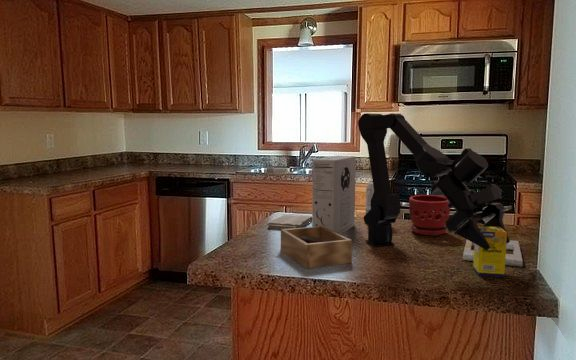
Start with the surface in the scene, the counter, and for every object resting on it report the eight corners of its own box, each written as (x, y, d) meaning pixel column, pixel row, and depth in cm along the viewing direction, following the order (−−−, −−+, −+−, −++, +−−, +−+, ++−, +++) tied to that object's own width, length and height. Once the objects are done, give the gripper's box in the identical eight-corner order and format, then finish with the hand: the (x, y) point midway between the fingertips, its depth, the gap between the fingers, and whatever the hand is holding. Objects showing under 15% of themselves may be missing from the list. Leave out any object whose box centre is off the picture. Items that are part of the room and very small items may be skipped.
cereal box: (334, 223, 163) (335, 155, 160) (354, 225, 160) (355, 156, 157) (311, 236, 144) (312, 159, 141) (333, 239, 141) (334, 160, 138)
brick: (296, 254, 124) (296, 237, 124) (303, 250, 128) (303, 234, 127) (329, 260, 118) (330, 243, 118) (336, 257, 122) (336, 240, 121)
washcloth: (265, 230, 155) (265, 221, 154) (283, 220, 171) (283, 212, 171) (298, 233, 151) (298, 224, 150) (312, 222, 168) (312, 214, 167)
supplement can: (372, 220, 169) (373, 181, 168) (392, 223, 164) (393, 182, 162) (361, 223, 163) (362, 183, 161) (381, 226, 158) (382, 184, 156)
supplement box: (505, 277, 104) (507, 232, 103) (477, 276, 106) (480, 230, 104) (498, 269, 110) (500, 226, 109) (472, 268, 111) (474, 225, 110)
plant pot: (401, 229, 154) (402, 195, 153) (436, 227, 157) (437, 194, 155) (419, 238, 141) (420, 201, 140) (457, 236, 144) (458, 199, 143)
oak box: (305, 268, 111) (306, 244, 110) (280, 250, 128) (280, 229, 127) (351, 262, 116) (352, 240, 115) (321, 245, 132) (321, 226, 132)
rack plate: (522, 266, 112) (522, 260, 112) (462, 259, 118) (463, 254, 118) (517, 245, 132) (518, 240, 132) (467, 240, 138) (467, 235, 138)
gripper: (458, 176, 102) (503, 231, 95) (499, 171, 113) (543, 220, 106) (428, 205, 109) (468, 259, 102) (469, 198, 120) (508, 246, 113)
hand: (498, 245), depth 105 cm, fingers open, 9 cm apart
